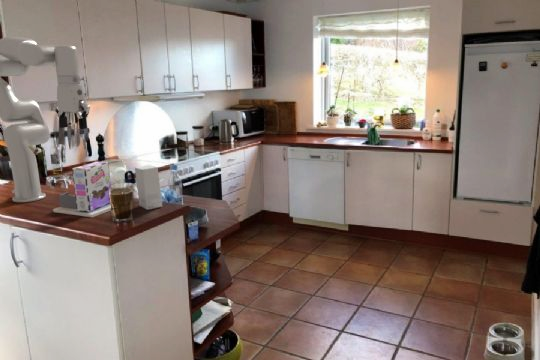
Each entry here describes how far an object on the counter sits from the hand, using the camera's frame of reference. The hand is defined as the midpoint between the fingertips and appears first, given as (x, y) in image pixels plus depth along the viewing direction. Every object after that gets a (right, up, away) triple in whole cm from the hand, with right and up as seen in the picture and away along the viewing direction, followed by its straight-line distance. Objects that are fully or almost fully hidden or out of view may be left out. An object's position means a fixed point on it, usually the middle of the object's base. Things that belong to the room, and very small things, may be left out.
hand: (73, 128), depth 170 cm
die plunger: (-2, -28, +8) cm, 29 cm away
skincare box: (+27, -30, +7) cm, 40 cm away
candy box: (+7, -30, +4) cm, 31 cm away
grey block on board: (+3, -30, +6) cm, 31 cm away
